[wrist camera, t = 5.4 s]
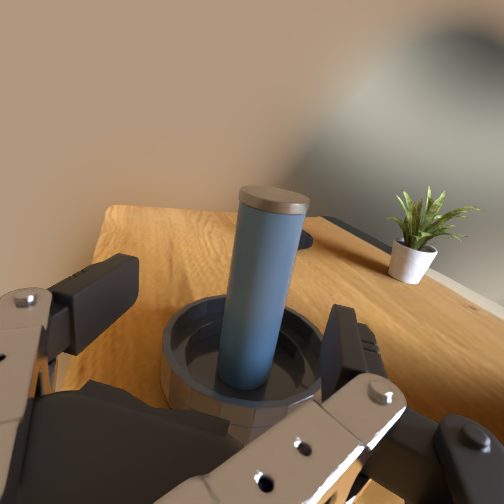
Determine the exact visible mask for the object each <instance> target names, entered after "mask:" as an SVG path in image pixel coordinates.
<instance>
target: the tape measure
mask: <svg viewBox="0 0 504 504" xmlns="http://www.w3.org/2000/svg"><path fill="white" fill-rule="evenodd" d="M312 244H313V238H312V236H311V235H310V234H308V233H307V232H306V231H304V230H303V229H302V232H301V237H300V241H299V246H298V249H306V248H310V247H311V246H312Z"/></svg>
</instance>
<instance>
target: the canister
mask: <svg viewBox="0 0 504 504" xmlns="http://www.w3.org/2000/svg"><path fill="white" fill-rule="evenodd" d="M239 201H240V202H239V210H238V217H237V224H236V231H235V238H234V245H233V252H232V259H231V267H230V274H229V281H228V288H227V295H226V302H225V309H224V316H223V324H222V331H221V338H220V345H219V352H218V359H217V366H216V368H217V373H218V375H219V377H220V378H221V380H222V381H223V382H225V383H226V384H227V385H229V386H231V387H233V388H236V389H240V390H252V389H256V388H259V387H261V386H262V385H264V384H265V383H266V381H267V380H268V378H269V375H270V370H271V366H272V361H273V357H274V352H275V348H276V343H277V339H278V335H279V330H280V326H281V321H282V317H283V312H284V308H285V303H286V299H287V295H288V290H289V286H290V281H291V277H292V272H293V268H294V263H295V259H296V254H297V250H298V246H299V241H300V237H301V232H302V228H303V223H304V219H305V214H306V212H307V211H308V208H309V203H310V200H309V198H307V197H305V196H304V195H301V194H298V193H295V192H292V191H288V190H284V189H279V188H273V187H266V186H244V187H241V188H240V192H239Z"/></svg>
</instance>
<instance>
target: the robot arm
mask: <svg viewBox="0 0 504 504" xmlns="http://www.w3.org/2000/svg"><path fill="white" fill-rule="evenodd" d="M138 290H139V260H138V258H137V257H134V256H129V255H125V254H121V253H118V254H116V255H114V256H112V257H110V258H109V259H107V260H105V261H103V262H99V263H96V264H92V265H90V266H88V267H86V268H84V269H82V270H81V271H80V272H77V273H75V274H73V275H72V277H71V276H70V277H68V278H66V279H64V280H62V281H61V282H59V283H57V284H55V285H53V286H52V287H50V288H48V289H42V288H23V289H18V290H14V291H11V292H9V293H7V294H5V295H3V296H2V297H0V504H354V503H355V502H356V501H357V499H358V498H359V497H360V495H361V494H362V493H363V491H364V490H365V489H366V488H367V486H368V485H369V484H370V482H371V481H372V480H374V481H375V482H377V483H378V484H380V485H382V486H383V487H385V488H386V489H388V490H390V491H391V492H393V493H394V494H396V495H398V496H399V497H401V498H402V499H404V501H405V504H504V447H503V445H502V444H501V443H500V441H499V440H498V439H497V438H496V437H495V436H494V435H493V434H492V433H491V432H490V431H489V430H487V429H486V428H485V427H484V426H482V425H481V424H479V423H477V422H476V421H474V420H472V419H470V418H468V417H465V416H462V415H458V414H448V415H445V416H444V417H443V418H442V420H441V421H440V423H438V422H436V421H434V420H432V419H430V418H428V417H426V416H424V415H422V414H420V413H418V412H416V411H414V410H413V409H411V408H410V407H408V406H407V402H406V398H405V396H404V394H403V393H402V391H401V390H400V389H399V388H398V387H397V386H396V385H395V384H393V383H392V382H391V381H389V380H388V378H387V375H386V371H385V368H384V365H383V362H382V358H381V355H380V354H379V348H378V346H377V342H376V339H375V335H374V334H373V332H372V331H371V330H370V329H369V328H368V327H367V325H365V324H361V323H357V319H356V315H355V311H354V308H350V307H345V306H341V305H337V304H334V305H333V306H332V309H331V312H330V316H329V319H328V322H327V326H326V329H325V332H324V336H323V340H322V344H321V353H320V356H321V395H322V404H319V403H318V402H317V401H316V400H314V399H311V400H308V401H307V402H305V403H304V404H303V405H301V406H300V407H298V408H297V409H296V410H294V411H293V412H292V413H290V414H289V415H288V416H286V417H285V418H284V419H282V420H281V421H280V422H278V423H277V424H275V425H274V426H273V427H271V428H270V429H269V430H267V431H266V432H265V433H263V434H262V435H261V436H259V437H258V438H257V439H255V440H254V441H252V442H251V443H250V444H248V445H247V446H246V447H245V446H244V445H243V444H242V443H240V442H239V441H238V440H236V439H235V438H234V437H232V436H231V435H229V434H228V431H229V425H230V420H226V419H223V418H219V417H216V416H213V415H209V414H206V413H202V412H199V411H195V410H183V409H166V408H154V407H151V406H149V405H148V404H146V403H144V402H143V401H141V400H139V399H138V398H136V397H134V396H133V395H131V394H130V393H128V392H126V391H125V390H123V389H120V388H117V387H113V386H110V385H106V384H103V383H100V382H96V381H93V380H89V381H88V382H87V383H86V384H85V385H84V386H83V387H82V388H81V389H80V390H72V391H61V392H55V386H56V377H57V368H58V357H57V355H59V354H60V353H61V352H64V353H68V354H71V355H75V356H77V355H78V354H79V353H80V352H82V351H83V350H84V349H85V348H86V347H87V346H88V345H89V344H90V343H92V342H93V341H94V340H95V339H96V338H97V337H98V336H99V335H100V334H101V333H103V332H104V331H105V330H106V329H107V328H108V327H109V326H110V325H111V324H113V323H114V322H115V321H116V320H117V319H118V318H119V317H120V316H121V315H123V314H124V313H125V312H126V311H127V310H128V309H129V308H130V307H131V306H132V305H133V304H134V303H135V301H136V299H137V296H138Z"/></svg>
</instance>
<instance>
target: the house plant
mask: <svg viewBox="0 0 504 504" xmlns="http://www.w3.org/2000/svg"><path fill="white" fill-rule="evenodd" d="M403 193H404V195H405V198H406V202H407V209H406V207H405V206H404V204H403V202H402V200H400V198H399V197H398V196H397V197H398V198H399V200H400V201H401V204H402V206H403V208H404V210H405V212H406V215H407V216H406V217H405V219H404V222H403V221H401V220H398V219H396V218H394V217H388V218H385V219H391V220H394V221H396V222H397V223H398V224H399V226H400V227H401V229H402V231H403V234H404V238H395V239H394V242H393V248H392V254H391V260H390V266H389V272H388V273H389V274H390V275H391V276H392V277H393V278H395V279H397V280H399V281H402V282H405V283H409V284H417V283H418V282H419V281H420V279H421V278H422V276H423V275H424V273H425V272H426V270H427V268H428V267H429V265H430V264H431V262H432V260H433V259H434V257H435V255H436V254H437V252H438V251H437V249H435V248H434V247H432V246H430V245H428V244H426V243H427V242H428V241H429V240H430V239H432V238H433V237H435V236H438V235H442V234H447V235H451V236H454V237H456V238H458V237H457V235H453V234H450V233H445V232H447V231H446V230H445V229H447V228H449V227H452V226H453V225H448V226H444V227H441V225H442V224H443V223H445V222H446V221H448V220H449V219H450V218H452V217H455V215H457V214H460V213H462V212H466V211H463V210H469V209H467V208H470V209H473V208H474V207H462V208H458V209H456V210H453V211H451V212H449V213H447V214H445V215H439V216H436V214H437V212H438V211H439V209H440V207H441V205H442V204H443V200H444V197H445V191H444V192H443V193H442V195H441V196H440V198H439V199H437V200H436V201H434V203H433V201H432V198H431V191H430V188H429V190H428V196H427V197H428V198H427V204H426V208H425V212H424V215H423V217H422V221H421V222H420V216H421V208H422V200H420V201H419V203H418V206H417V216H416V208H415V202H414V203H413V202H412V201H411V199H410V197H409V196H408V194H407V193H406V192H405V191H403ZM475 210H481V209H475ZM456 217H465V216H456ZM436 218H440V219H439V220H437V221H436V222H434V223H433V224H431V222H432V221H433V219H436ZM467 218H468V217H467ZM408 223H409V227H408ZM435 226H436V227H435ZM434 227H435V228H434ZM433 228H434V229H433ZM409 229H410V233H409ZM432 229H433V230H432ZM431 230H432V231H431ZM430 231H431V232H430ZM429 232H430V233H429ZM461 236H462V235H461ZM463 236H464V235H463ZM458 239H459V238H458ZM459 240H460V239H459ZM460 241H461V240H460Z"/></svg>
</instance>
